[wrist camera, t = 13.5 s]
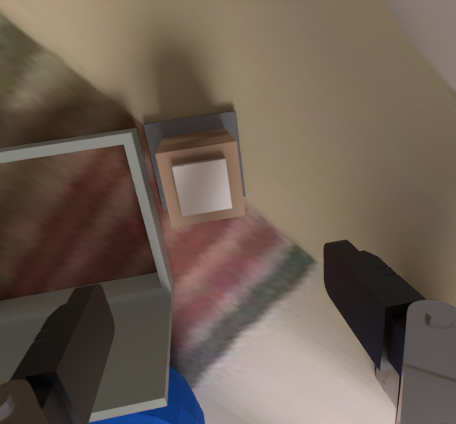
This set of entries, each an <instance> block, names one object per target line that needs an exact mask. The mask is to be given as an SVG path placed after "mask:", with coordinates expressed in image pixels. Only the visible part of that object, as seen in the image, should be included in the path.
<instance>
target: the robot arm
mask: <svg viewBox="0 0 456 424" xmlns="http://www.w3.org/2000/svg"><path fill="white" fill-rule="evenodd" d="M324 284H325V288H326V291H327V293H328V295H329V297H330V298H331V300H332V301H333V303H334V304H335V306H336V307H337V309H338V310H339V312H340V313H341V315H342V316H343V318H344V319H345V321H346V322H347V324H348V325H349V327H350V328H351V329H352V331H353V332H354V334H355V335H356V337H357V338H358V340H359V341H360V343H361V344H362V346H363V347H364V349H365V350H366V352H367V353H368V355H369V356H370V358H371V359H372V360H373V362H374V363H375V365H376V366H377V367H376V377H377V380H378V381H379V383H380V385H381V386H382V388H383V389H384V391H385V393H386V394H387V395H388V397H389V398H390V400H391V401H392V403H393V404H394V406H395V408H396V417H395V424H456V307H454V306H452V305H449V304H447V303H444V302H440V301H434V300H426V299H425V298H424V297H423V296H421V295H420V294H419V293H418V292H417V291H416V290H415V289H414V288H412V287H411V286H410V285H409V284H408V283H407V282H406V281H405V280H403V279H402V278H401V277H400V276H399V275H396V272H394V271H393V270H392V269H391V268H390V267H388V265H387V264H385V263H384V262H383V261H382V260H381V259H380V258H379V257H377V256H375V255H373V254H371V253H369V252H366V251H364V250H363V251H358V250H357V249H356V248H355V247H354V246H353V245H352V244H351V243H350V242H349V241H348V240H341V241H335V242H330V243H325V245H324ZM40 330H41V331H40V332H39V333H38V334H37V336H36V337H35V339H34V343H32V344H31V346H30V347H29V349H28V351H27V352H26V354H25V356H24V357H23V359H22V361H21V362H20V364H19V365H18V367H17V369H16V370H15V372H14V374H13V375H12V377H11V379H10V380H9V381H8V382H5V383H3V384H1V385H0V424H88V423H89V420H90V416H91V413H92V410H93V406H94V403H95V399H96V396H97V393H98V389H99V386H100V382H101V379H102V376H103V372H104V369H105V365H106V362H107V359H108V355H109V352H110V348H111V345H112V342H113V338H114V333H115V325H114V319H113V316H112V313H111V310H110V307H109V304H108V302H107V299H106V296H105V293H104V290H103V288H102V286H101V285H100V284H92V285H87V286H81V287H76V288H75V289H74V290H73V292H72V294H71V296H70V297H69V299H68V301H67V303H66V304H64V305H60V306H59V307H58V308H57V309H56V310H55V311H54V312H53V313H52V314H51V315H50V316H48V318H47V319H46V321H45V323H44V324H43V326H42V328H41V329H40Z"/></svg>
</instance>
